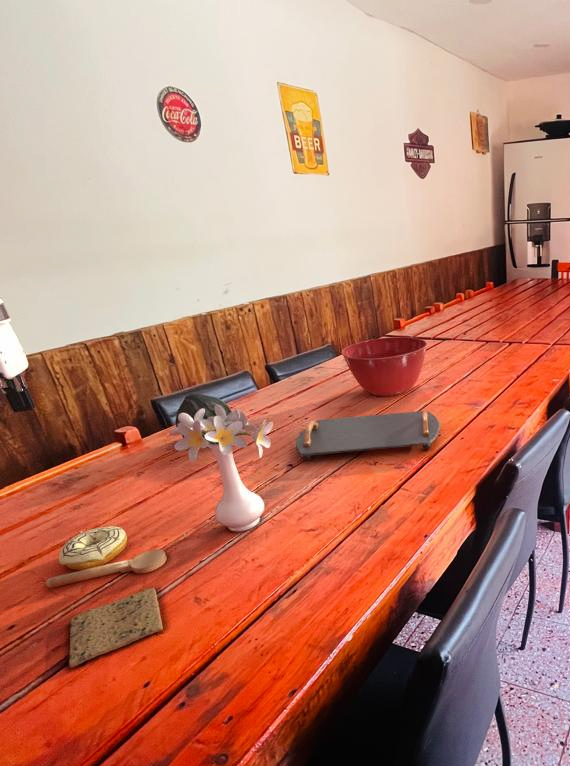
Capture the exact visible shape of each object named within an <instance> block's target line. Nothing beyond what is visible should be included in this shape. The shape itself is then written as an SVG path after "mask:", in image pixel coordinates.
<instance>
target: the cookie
mask: <svg viewBox="0 0 570 766" xmlns="http://www.w3.org/2000/svg"><path fill="white" fill-rule="evenodd" d="M69 628H70V629H69V633H70V634H69V655H68V659H69V660H68V665H69V668H71V669H72V668H74V667H77V666H78V665H82V664H83V663H84V662H87V661H89V660H91V659H93V658H96V657H99V656H101V655H103V654H106V653H109V652H111V651H114V650H117V649H120V648H122V647H124V646H127V645H129V644H131V643H133V642H136V641H137V640H140V639H143V638H144V637H147V636H149V635H152V634H155V633H159V632H161V631H163V621H162V616H161V611H160V604H159V601H158V595H157V591H156V588H155V587H151V588H146V589H143V590H141V591H138V592H136V593H132V594H130V595H128V596H126V597H123V598H120V599H118V600H115V601H113V602H110V603H107V604H104V605H100V606H98V607H95V608H90V609H87V611H84V612H82V613H79V614H76V615H75V616H72V618H71V619H70V623H69Z"/></svg>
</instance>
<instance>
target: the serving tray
mask: <svg viewBox="0 0 570 766" xmlns="http://www.w3.org/2000/svg"><path fill="white" fill-rule="evenodd" d="M440 429H441V423H440V421H439V419H438V418H437V416H435V415H434V414H433V413H431V412H430V411H427V410H420V411H409V412H396V413H394V412H393V413H387V414H384V413H383V414H369V415H361V416H347V417H338V418H337V417H336V418H326V419H317V420H316V421H314V420H310V421H308V422H307V424H306V426H305V428H304V429H303V430H302V431H301V432H300V433H299V434H298V436H297V438H296V439H295V450H296V452H297V454H298V456H300V457H301V459H302V460H303V461H304V462H309V461H310V460H311V457H312V456H318V455H320V456H321V455H328V454H329V455H331V454H340V453H351V452H360V451H361V452H362V451H373V450H374V451H375V450H385V449H395V448H406V447H418V446H422V448H423V450H424V451H430V449H431V447H432V443H433V442H434V441H435V440H436V438H438V435H439V434H440Z"/></svg>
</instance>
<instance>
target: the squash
mask: <svg viewBox="0 0 570 766" xmlns="http://www.w3.org/2000/svg"><path fill="white" fill-rule="evenodd" d="M217 404H218V405H220V406H221V407H222V408H223V409H224V410H225V412H226V416H228V415H229V414H230V413H231V412H233V411H232V410H231V408H230V406H229V405H228V404H227V403H225V402H224V401H223V400H221V399H220V398H219V397H216V396H211V395H207V394H203V393H189V394H187V395H186V396H185V397H184V398H183V400H182V402H181V403H180V405H179V407H178V409H177V411H176V415H175V428H177V427H178V426H177V425H178V423H180V421H179V420H178V415H179V414H180V413H186V414H188V415H189V416H190V417H191V418H192V419H193V420H194V416H195V414H196V413H197V412H198V411H199V410H200V409H205V413H204V416H203V419H206V420H208V417H215V416H217V415H216V412H215V405H217ZM194 422H195V421H194ZM202 433H204V434H206V433H205V432H202ZM180 435H181V437H182V439H184V436H183V435H182V434H180ZM202 437H203V438H205V436H204V435H202ZM207 442H208V441H207Z"/></svg>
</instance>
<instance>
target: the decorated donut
mask: <svg viewBox="0 0 570 766" xmlns="http://www.w3.org/2000/svg"><path fill="white" fill-rule="evenodd" d="M127 541H128V535H127V533H126V531H125V530H124V529H123V528H122V527H120V526H111V525H109V526H103V527H96V528H93V529H88V530H85V531H82V532H80V533H79V534H77V535H75V536H73V537H72V538H70V539H69V540H68V541H66V543H64V545H63V546H62V547H61V549H60V553H59V556H58V562H59V564H60V565H62V566H66V567H67V568H68V569H71V570H73V571H81V570H86V569H90V568H94V567H99V566H103V565H106V564H108V562H110V561H113V560H114V558H115V557H117V556H118V555H119V554H121V552H123V551H124V550H125V548H126V545H127V543H128V542H127Z"/></svg>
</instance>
